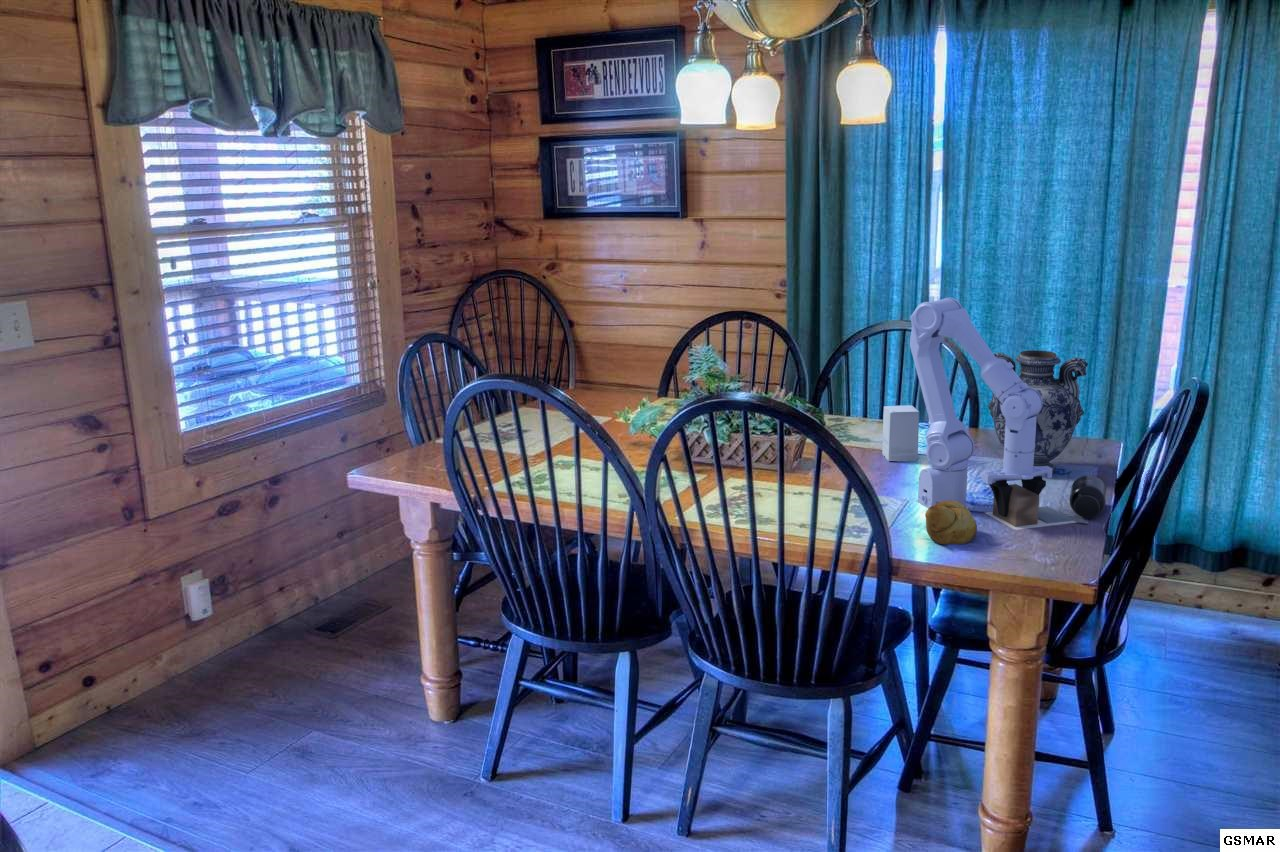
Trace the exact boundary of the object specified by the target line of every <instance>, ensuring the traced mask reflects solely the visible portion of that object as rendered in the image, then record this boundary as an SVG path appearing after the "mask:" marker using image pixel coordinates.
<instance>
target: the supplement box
mask: <svg viewBox="0 0 1280 852" xmlns="http://www.w3.org/2000/svg"><path fill="white" fill-rule="evenodd" d="M882 414H883V415H882V418H883V423H882V425H883V426H882V451H881V453H882V456H883V457H884V456H885V457H884V458H885V459H886V460H887V461H888V462H889V461H897V462H917V461H918V456H919V455H918V453H919V429H920V427H919V425H920V411H919V410H918V409H917V408H916V407H914V406H913V405H908V404H907V405H905V404H904V405H887V406H886V405H885V406H883V413H882Z"/></svg>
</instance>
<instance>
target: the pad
mask: <svg viewBox="0 0 1280 852" xmlns="http://www.w3.org/2000/svg"><path fill="white" fill-rule="evenodd" d="M1042 506H1043V507H1039V509H1038V519H1039V520H1041V521H1043V522H1045V523H1047V524H1048V523H1056V522H1065V521H1073V520H1074V518H1072V517H1071V516H1068V515H1066V514H1065V513H1062V512H1061V511H1058V510H1057V509H1055V508H1052V507H1051V506H1049V505H1042ZM1074 521H1075V520H1074Z"/></svg>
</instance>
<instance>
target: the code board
mask: <svg viewBox="0 0 1280 852" xmlns="http://www.w3.org/2000/svg"><path fill="white" fill-rule="evenodd" d="M1043 506H1044V505H1039V507H1043ZM984 514H985V515H988V516H989V517H991V518H993V519H994V520H997V521H998V522H1000V523H1002V524H1004V525H1005V526H1008V527H1009V528H1010V529H1013V530H1014V531H1018V530H1019V531H1020V530H1025V529H1026V530H1027V529H1034V528H1043V527H1049V526H1050V527H1051V526H1058V525H1066V524H1067V525H1068V524H1075V523H1077V521H1076V520H1073V521H1065V522H1056V523H1048V524H1047V523H1045V522H1043V521H1041V520H1039V519H1038V524H1034V525H1025V526H1017V527H1015V526H1013V525H1011V524H1009V523H1008V522H1006V521H1004V520H1002V519H1000V518H999V517H997V516H995V515H993V511H987V512H984Z"/></svg>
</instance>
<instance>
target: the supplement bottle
mask: <svg viewBox="0 0 1280 852" xmlns="http://www.w3.org/2000/svg"><path fill="white" fill-rule="evenodd" d="M1070 487H1071V488H1070V494H1069V506H1070V509H1071V510H1072V511H1073V513H1075V514H1077V516H1079V517H1081V518H1083V519H1091V518H1095V517H1097V516H1099V515H1100V514H1101V513H1102V512H1103V511H1104V509H1105V507H1106V501H1107V489H1106V485H1105V483H1104V482H1103V480H1102V479H1100V478H1098V477H1097V476H1094V475H1091V474H1089V475H1088V474H1086V475H1085V474H1084V475H1081V476H1079V477H1078V478H1076V479H1075V480H1074V481H1073V483H1072V485H1071V486H1070Z"/></svg>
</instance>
